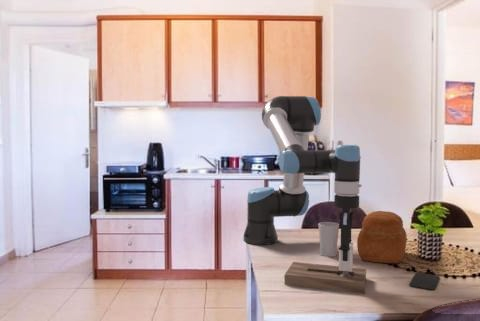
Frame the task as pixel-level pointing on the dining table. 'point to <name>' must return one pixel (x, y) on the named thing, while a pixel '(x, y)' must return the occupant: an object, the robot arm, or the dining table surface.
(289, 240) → the dining table surface
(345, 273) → the keyhole peg
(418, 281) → the phone
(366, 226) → the bread
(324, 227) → the cup
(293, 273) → the keyhole board
